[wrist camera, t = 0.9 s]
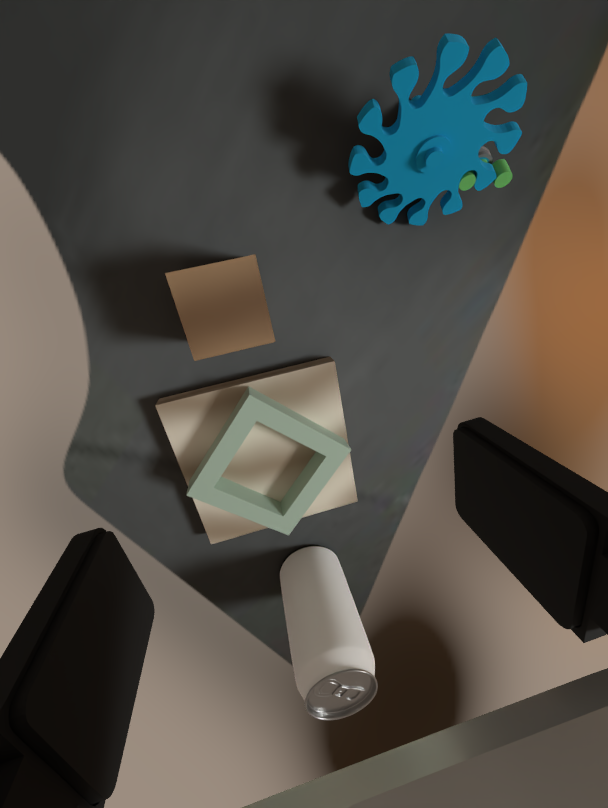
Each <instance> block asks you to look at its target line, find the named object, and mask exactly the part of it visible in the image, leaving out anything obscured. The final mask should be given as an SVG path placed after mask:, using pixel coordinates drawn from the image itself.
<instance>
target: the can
mask: <svg viewBox="0 0 608 808" xmlns="http://www.w3.org/2000/svg"><path fill="white" fill-rule="evenodd" d="M280 583H281V590H282V597H283V604H284V611H285V617H286V624H287V631H288V637H289V644H290V650H291V657H292V663H293V669H294V675H295V681H296V685H297V689H298V691H299V692H300V694H301V696H302V697H303V699H304V700H305V708H306V711H307V712H308V713H309V714H310V715H311V716H312V717H314V718H316V719H321V720H336V719H341V718H344V717H348V716H350V715H352V714H354V713H356V712H358V711H360V710H361V709H363V708H364V707H365V706H367V705H368V704H369V702H371V700H372V699H373V698H374V696H375V694H376V692H377V687H378V685H377V680H376V678H375V677H374V674H375V660H374V656H373V653H372V650H371V648H370V644H369V642H368V639H367V636H366V633H365V630H364V628H363V625H362V622H361V620H360V617H359V614H358V611H357V608H356V606H355V603H354V600H353V597H352V595H351V592H350V589H349V586H348V584H347V581H346V578H345V576H344V573H343V570H342V568H341V565H340V562H339V560H338V558H337V556H336V555H335V553H333V552H332V551H331V550H329V549H327V548H324V547H320V546H308V547H304V548H301V549H299V550H297V551H295V552H293V553H292V554H291V555H290V556H289V557H288V558H287V559H286V560H285V562H284V563H283V565H282V567H281V570H280Z"/></svg>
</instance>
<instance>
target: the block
mask: <svg viewBox="0 0 608 808" xmlns="http://www.w3.org/2000/svg"><path fill="white" fill-rule="evenodd" d="M165 275H166V278H167V281H168V284H169V287H170V290H171V293H172V296H173V299H174V302H175V305H176V308H177V311H178V314H179V317H180V320H181V323H182V326H183V329H184V332H185V335H186V338H187V341H188V344H189V346H190V349H191V352H192V355H193V358H194V361H196V360H200V359H205V358H209V357H213V356H217V355H222V354H226V353H230V352H234V351H238V350H243V349H247V348H251V347H255V346H260V345H264V344H268V343H272V342H275V338H274V334H273V329H272V325H271V321H270V316H269V312H268V308H267V303H266V299H265V294H264V290H263V286H262V281H261V277H260V273H259V268H258V264H257V260H256V255H250V256H246V257H241V258H236V259H231V260H226V261H222V262H217V263H212V264H207V265H202V266H198V267H193V268H188V269H183V270H178V271H174V272H169V273H165Z"/></svg>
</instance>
